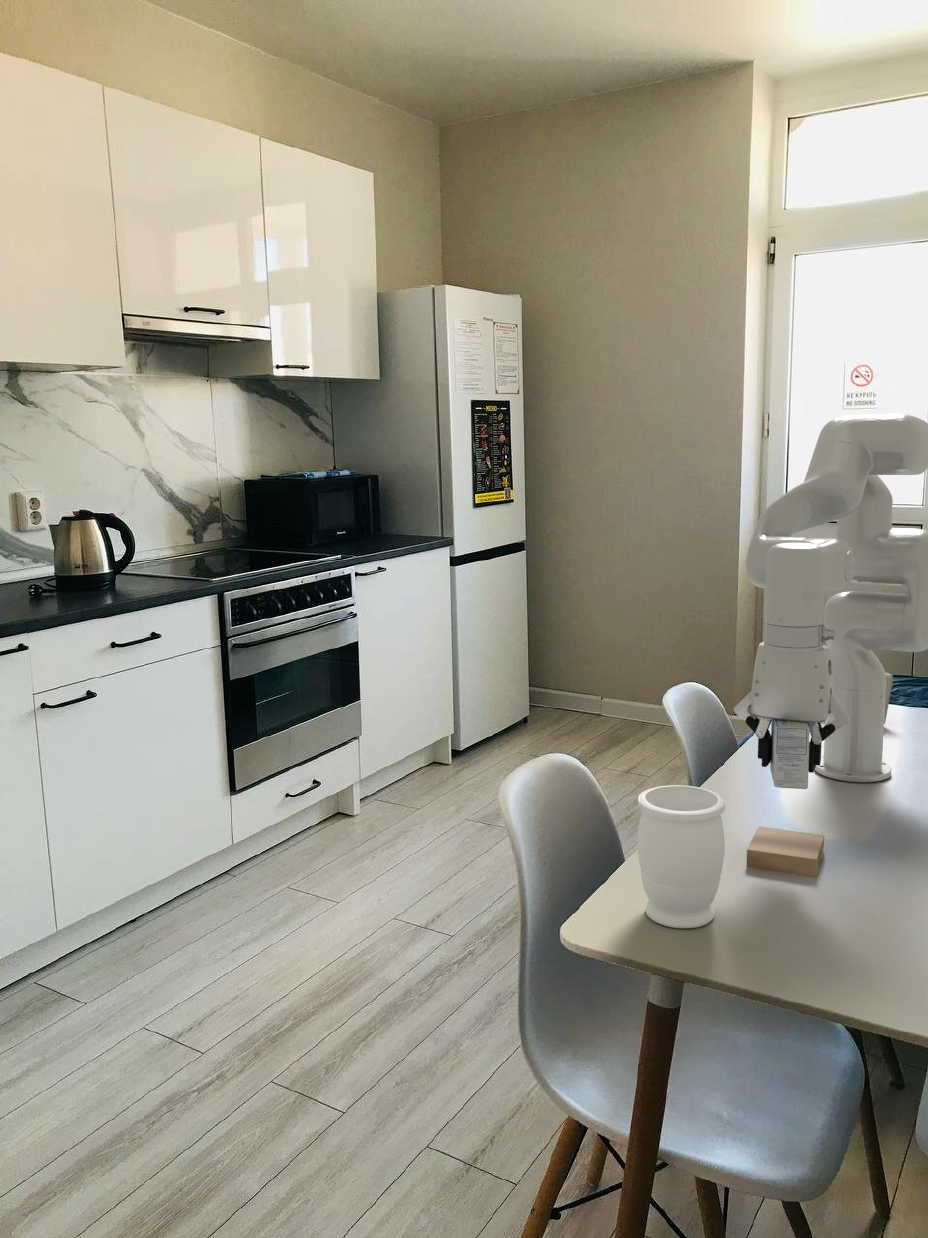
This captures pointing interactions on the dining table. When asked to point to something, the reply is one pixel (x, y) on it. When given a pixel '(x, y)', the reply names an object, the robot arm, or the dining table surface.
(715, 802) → the jar
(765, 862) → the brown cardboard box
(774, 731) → the medicine box
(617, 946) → the dining table surface
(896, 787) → the dining table surface
